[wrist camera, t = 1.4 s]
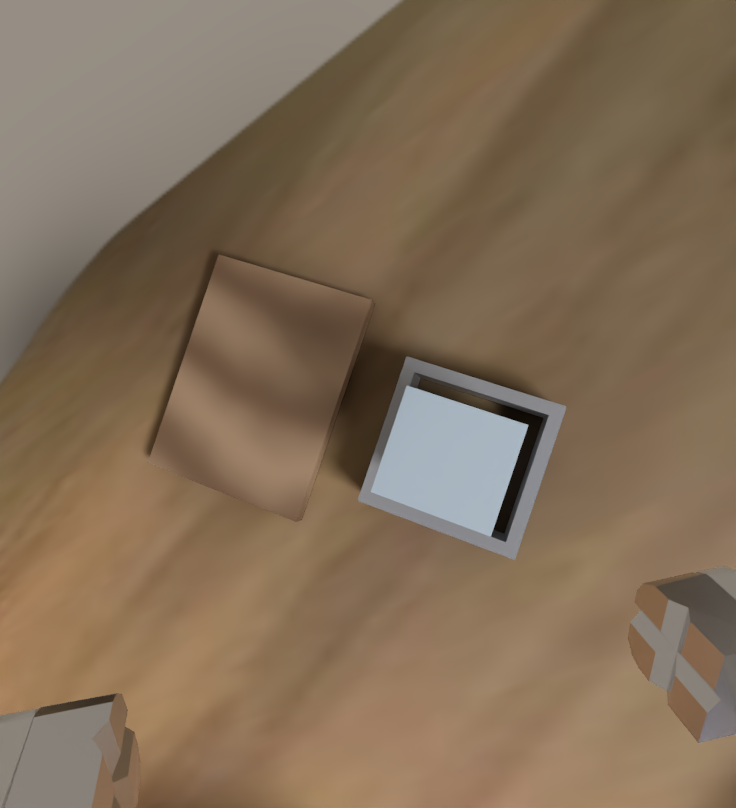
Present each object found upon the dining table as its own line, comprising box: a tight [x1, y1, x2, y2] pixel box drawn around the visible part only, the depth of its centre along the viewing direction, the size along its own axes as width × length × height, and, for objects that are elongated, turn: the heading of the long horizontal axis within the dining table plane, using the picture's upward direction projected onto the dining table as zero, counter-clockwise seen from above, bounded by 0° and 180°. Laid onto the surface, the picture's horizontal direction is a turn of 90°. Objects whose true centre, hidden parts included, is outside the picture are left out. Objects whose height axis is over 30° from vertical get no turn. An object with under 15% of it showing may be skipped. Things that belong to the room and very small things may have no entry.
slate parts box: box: [371, 386, 529, 537], centre depth 32 cm, size 5×6×14 cm
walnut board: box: [148, 255, 375, 522], centre depth 41 cm, size 16×12×1 cm
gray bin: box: [358, 356, 566, 560], centre depth 37 cm, size 10×10×4 cm
